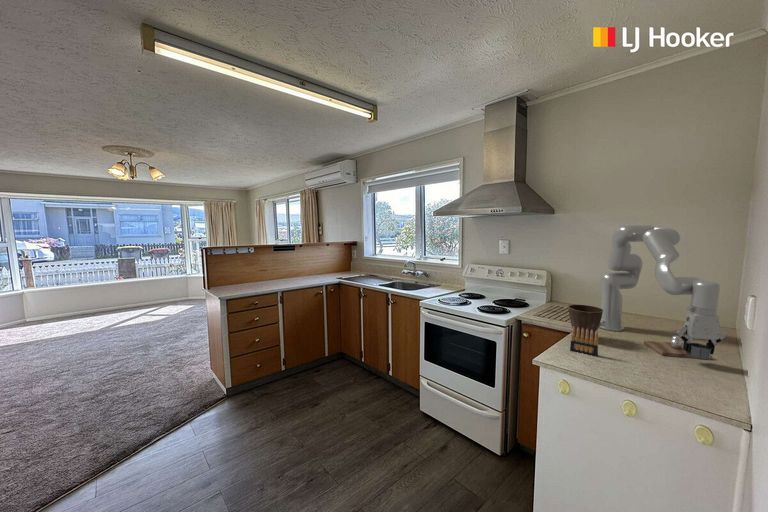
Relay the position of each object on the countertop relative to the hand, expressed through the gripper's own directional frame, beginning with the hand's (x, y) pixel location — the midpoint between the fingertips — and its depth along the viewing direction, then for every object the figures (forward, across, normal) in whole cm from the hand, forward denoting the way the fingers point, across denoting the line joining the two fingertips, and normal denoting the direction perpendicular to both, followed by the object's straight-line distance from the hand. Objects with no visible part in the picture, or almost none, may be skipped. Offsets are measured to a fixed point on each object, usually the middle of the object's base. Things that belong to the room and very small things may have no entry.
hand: (698, 351), depth 127 cm
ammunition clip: (+6, -41, +2) cm, 42 cm away
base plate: (+6, 0, +13) cm, 14 cm away
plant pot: (+6, -34, +22) cm, 41 cm away
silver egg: (+4, 0, +13) cm, 14 cm away
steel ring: (+1, 0, 0) cm, 1 cm away
